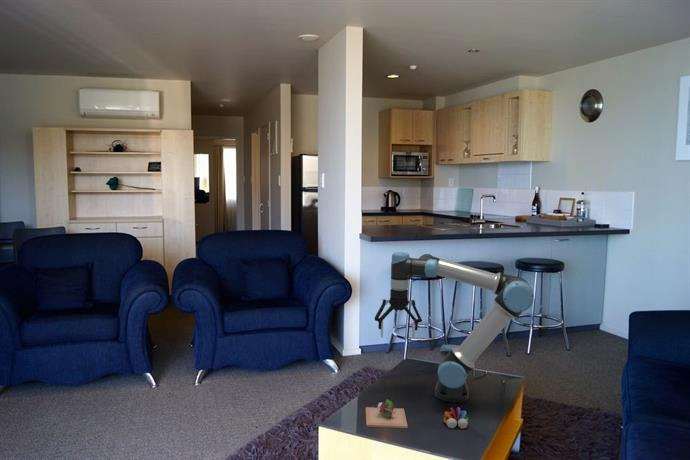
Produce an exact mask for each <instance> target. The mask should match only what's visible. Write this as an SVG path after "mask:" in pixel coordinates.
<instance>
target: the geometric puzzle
mask: <svg viewBox="0 0 690 460" xmlns="http://www.w3.org/2000/svg"><path fill="white" fill-rule="evenodd" d="M395 407H396V404H394V402H393V401H391V400H390V399H388V398H386V399H385V400H383V401H382V402H378V404H377V407H376V408H377V409H378V411H379V409H380V411H379V413H382V415H383V416H384V417H385V418H387V419H388V416H389V415H393V414H392V413H393V412H394V411H393V410H394V408H395ZM394 413H396V411H395V412H394ZM390 417H391V416H390Z"/></svg>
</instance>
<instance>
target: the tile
mask: <svg viewBox="0 0 690 460" xmlns="http://www.w3.org/2000/svg"><path fill="white" fill-rule="evenodd" d="M377 408H378V407H372V406H371V407H370V406H368V407H367V406H365V423H366V427H368V428H369V427H370V428H371V427H372V428H374V427H375V428H391V429H392V428H396V429H397V428H398V429H408V427H409V426H408V423H407V418H406V413H405V408H402V407H401V408H395V407H394V410H393V411H394V412H395V411H396V413H394V412H393V413H392V414H393V415H389V416H388V419H387V418H385V417H384V416H383V415H382V413H379V411H380V409H379V411H378V409H377ZM390 416H391V417H390Z"/></svg>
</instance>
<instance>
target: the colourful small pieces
mask: <svg viewBox="0 0 690 460" xmlns="http://www.w3.org/2000/svg"><path fill="white" fill-rule="evenodd" d="M443 422H444V423H445V424H446V426H447V427H448V428H450V429H455V428H456V427H457V426H458V427H459V428H460V429H462V430H463V429H466V428H467V427H468V425H469V423H468V422H469V418H468V417H467V410H461V407H456V408H455V409H454V408H453V407H450V411H444V418H443Z"/></svg>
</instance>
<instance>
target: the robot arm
mask: <svg viewBox="0 0 690 460" xmlns="http://www.w3.org/2000/svg"><path fill="white" fill-rule="evenodd" d="M391 255H392V256H391V263H390V293H389V296H390V297H389V299H386V298H383V299H382V303H381V305H380V307H379V309H378V311H377V312H376V314H375V316H374V321H376V322H378V327H377V328H378V330H380V338H382V339H383V338H384V320H385V319H386V317H388V316H389V314H390V313H392V312H393V310H394V311H400V312H401V311H405V312H406V313H407V315H409V317H410V318H411V319H412V321H413V322H412V327H411V328H412V330H411V333H412V334H411V338H412V339H415V337H416V335H415V334H416V331H418V326H419V325H418V324H419V323H422V322H423V319H422V317H421V315H420V313H419V310H418V309H417V306H416V300H415V299H412V300H409V290H408V289H409V279H410V278H409V276H411V277H423V278H424V277H425V278H436V277H437V276H439V277H442V278H446V279H449V280H452V281H453V280H454V281H457V282H460V283H464V284H467V285H470V286H474V287H477V288H481V289H484V290H488V291H491V292H492V294H493V295H496V297H494V299H493V302H494V303H493V306H492V307H491V308H490V310H489V311H488V312H487V313H486V314H485V315H484V317H483V318H482V319H481V320H480V322H479V323H478V324H477V325H476V326H475V327H474V329H473V330H471V332H470V333H469V334H468V335H467V337H466V338H465V339H464V340H463V341H462V343H461V344H460V345H459V344H457V345H456V344H442V345H441V346H440V350H439V352H440V355H439V363H438V368H437V377H438V380H437V383H436V384H435V387H434V396H435V398H437V399H439V400H441V401H444V402H446V403H447V402H448V403H464V402H466V401H468V400H469V398H470V397H469V396H470V392H469V388H468V384H467V377H468V376H469V375H470V373H472V371H473V370H474V369H475V366H476V365H475V361H476V360H478V359H479V357H480V356H481V355H482V353H484V351H485V350H486V349H487V348H488V346H489V345H491V343H492V342H493V341H494V340H495V338H496V337H498V335H499V334H500V333H501V332H502V331H503V330H504V328H505V327H507V326H506V325H508V324H509V322H510V321H511V320H513V319H514V320H516V319H518V318H519V317H520V316H521V314H522V313H523V312H526V311H527V310H529V309H530V308H531V307H532V305H533V304H534V299H535V295H534V291H533V289H532V287H531V285H530V284H529V283H528V281H527V280H526V279H525V278H523V277H521V276H516V275H513V274H507V273H502V272H497V273H494V272H490V271H487V270H483V269H479V268H476V267H473V266H469V265H466V264H462V263H457V262H454V261H450V260H447V259H444V258H439V257H437V256H433V255H432V254H430V253H426V254H425V253H424V254H421V255H420V256H419V258H415V257H411V255H410V253H408V252H403V251H402V252H401V251H396V252H393V253H392V254H391ZM388 304H389V305H390V306H389V307H388V308H387V309H386V311H384V309H385V307H386V306H387V305H388ZM409 304H410V306H411V307H412V308H413V310H414V313H415V316H416V317H417V318H416V317H415V316H414V315H413V313H412V311H410V309H409V308H408V305H409ZM383 311H384V312H383ZM382 313H383V314H382ZM381 314H382V315H381Z"/></svg>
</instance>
